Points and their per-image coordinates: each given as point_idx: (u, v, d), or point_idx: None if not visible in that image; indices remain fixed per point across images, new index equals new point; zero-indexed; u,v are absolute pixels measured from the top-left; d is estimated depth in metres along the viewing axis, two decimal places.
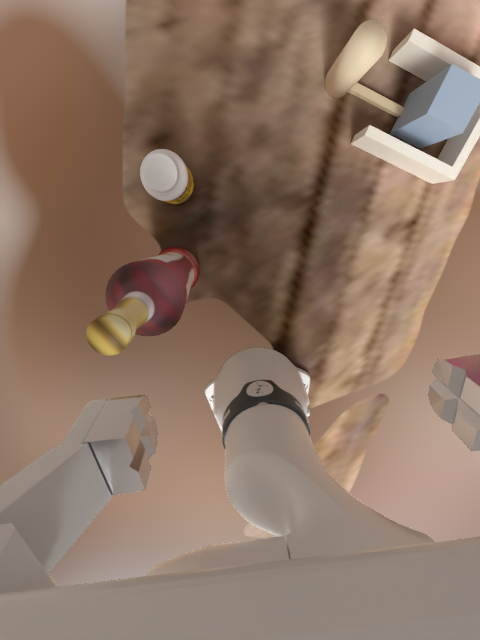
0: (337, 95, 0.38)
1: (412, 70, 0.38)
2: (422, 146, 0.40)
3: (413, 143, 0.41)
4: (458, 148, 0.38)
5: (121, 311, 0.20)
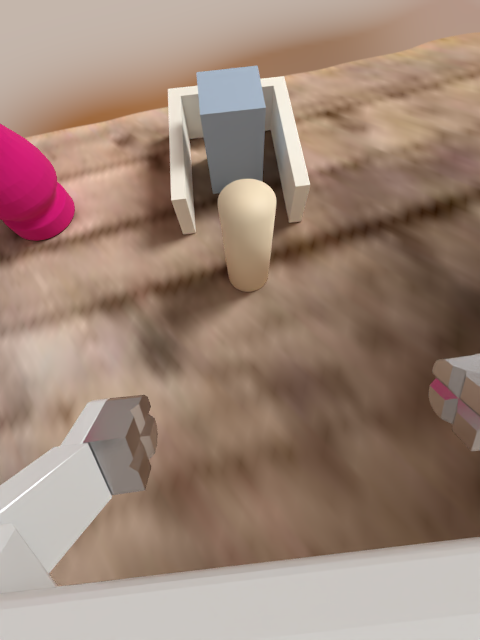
0: None
1: (192, 201, 0.29)
2: None
3: None
4: None
5: None
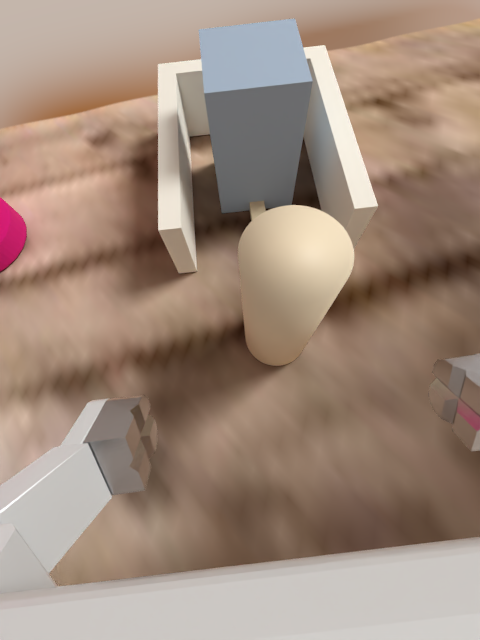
0: None
1: (193, 224, 0.20)
2: None
3: None
4: None
5: None
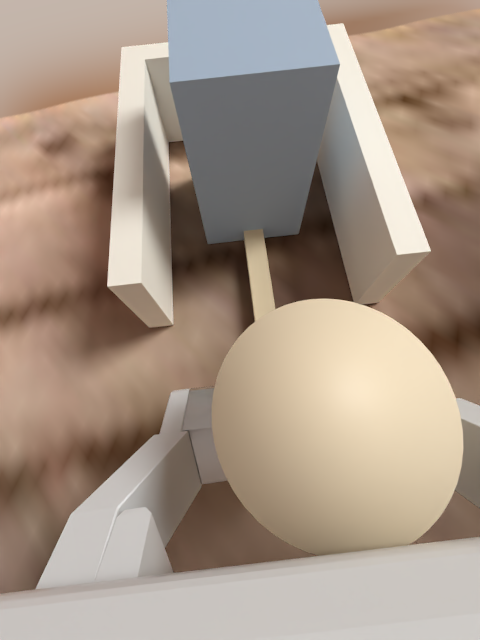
0: None
1: (169, 261, 0.15)
2: None
3: None
4: None
5: None
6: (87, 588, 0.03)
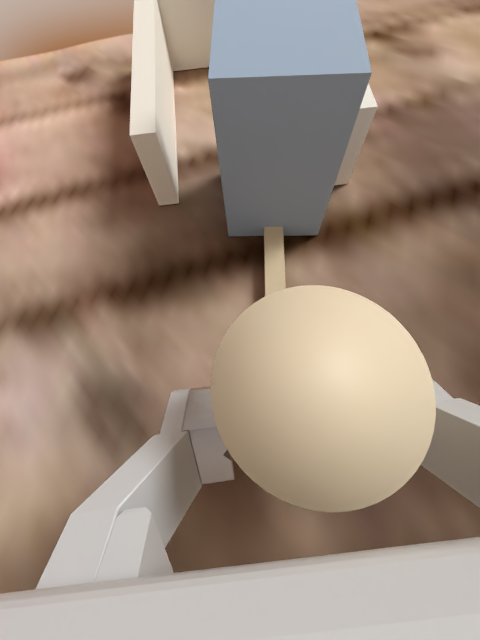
0: None
1: (174, 154, 0.18)
2: None
3: None
4: None
5: None
6: (87, 588, 0.03)
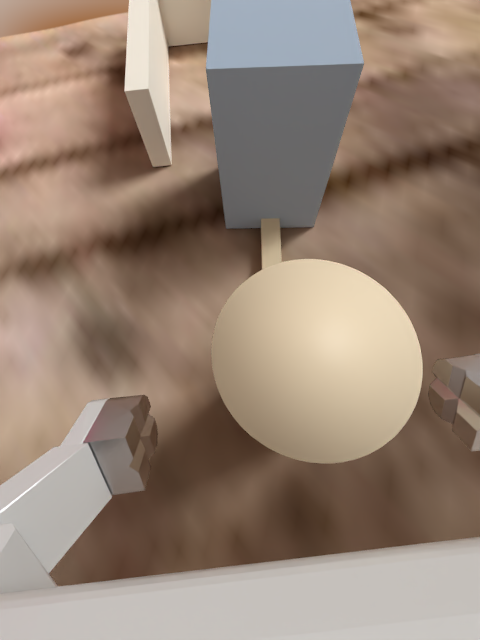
0: None
1: (168, 120, 0.19)
2: None
3: None
4: None
5: None
6: (87, 588, 0.03)
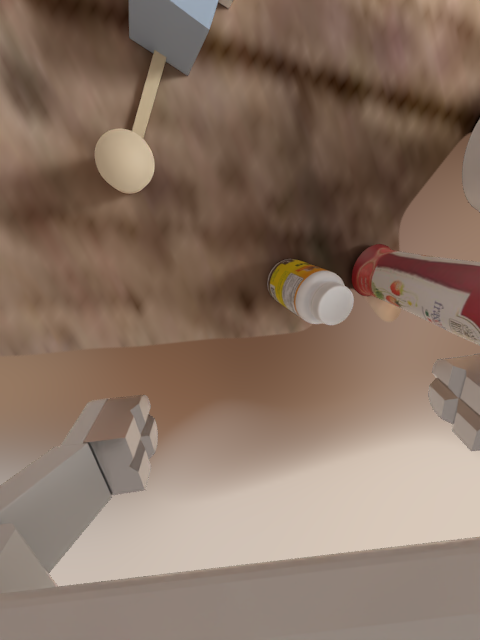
0: None
1: None
2: None
3: None
4: None
5: None
6: (87, 588, 0.03)
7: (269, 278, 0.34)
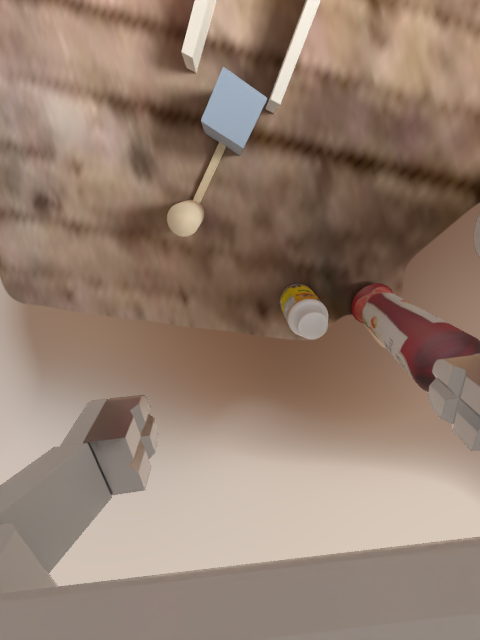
0: None
1: (205, 36, 0.33)
2: None
3: None
4: None
5: None
6: (87, 588, 0.03)
7: (281, 296, 0.46)
